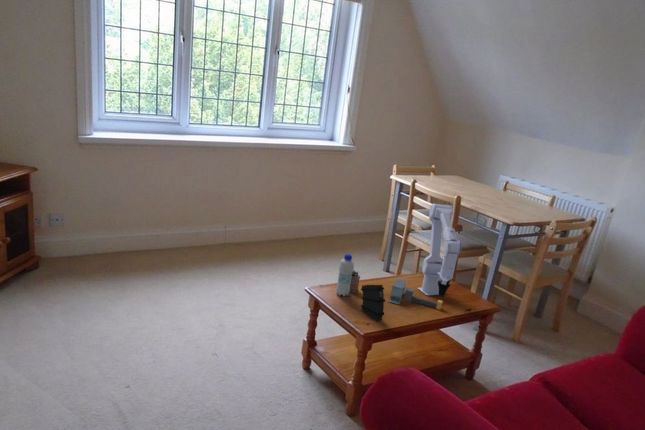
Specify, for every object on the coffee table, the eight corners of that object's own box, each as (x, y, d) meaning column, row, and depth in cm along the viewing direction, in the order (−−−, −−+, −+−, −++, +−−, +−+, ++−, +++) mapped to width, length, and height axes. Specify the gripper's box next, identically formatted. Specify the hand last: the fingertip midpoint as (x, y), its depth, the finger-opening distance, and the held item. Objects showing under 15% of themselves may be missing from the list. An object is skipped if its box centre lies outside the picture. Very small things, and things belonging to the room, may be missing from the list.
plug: (441, 307, 226) (443, 297, 224) (440, 310, 223) (442, 299, 221) (404, 297, 231) (407, 287, 229) (403, 300, 228) (405, 289, 226)
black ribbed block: (381, 321, 201) (377, 285, 202) (362, 320, 212) (357, 285, 213) (388, 320, 203) (383, 284, 205) (368, 318, 214) (364, 284, 215)
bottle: (351, 297, 223) (357, 257, 217) (337, 297, 221) (343, 257, 215) (347, 291, 229) (353, 251, 223) (333, 290, 227) (339, 251, 221)
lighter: (358, 289, 232) (361, 270, 229) (357, 292, 229) (361, 273, 226) (341, 286, 233) (344, 267, 230) (340, 289, 230) (344, 270, 227)
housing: (405, 291, 237) (408, 278, 235) (398, 304, 222) (401, 291, 220) (395, 289, 238) (397, 276, 236) (388, 301, 224) (390, 288, 222)
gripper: (441, 258, 226) (435, 285, 230) (437, 269, 213) (431, 296, 217) (456, 262, 224) (450, 289, 228) (453, 273, 211) (447, 301, 215)
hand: (442, 293), depth 222 cm, fingers open, 7 cm apart
